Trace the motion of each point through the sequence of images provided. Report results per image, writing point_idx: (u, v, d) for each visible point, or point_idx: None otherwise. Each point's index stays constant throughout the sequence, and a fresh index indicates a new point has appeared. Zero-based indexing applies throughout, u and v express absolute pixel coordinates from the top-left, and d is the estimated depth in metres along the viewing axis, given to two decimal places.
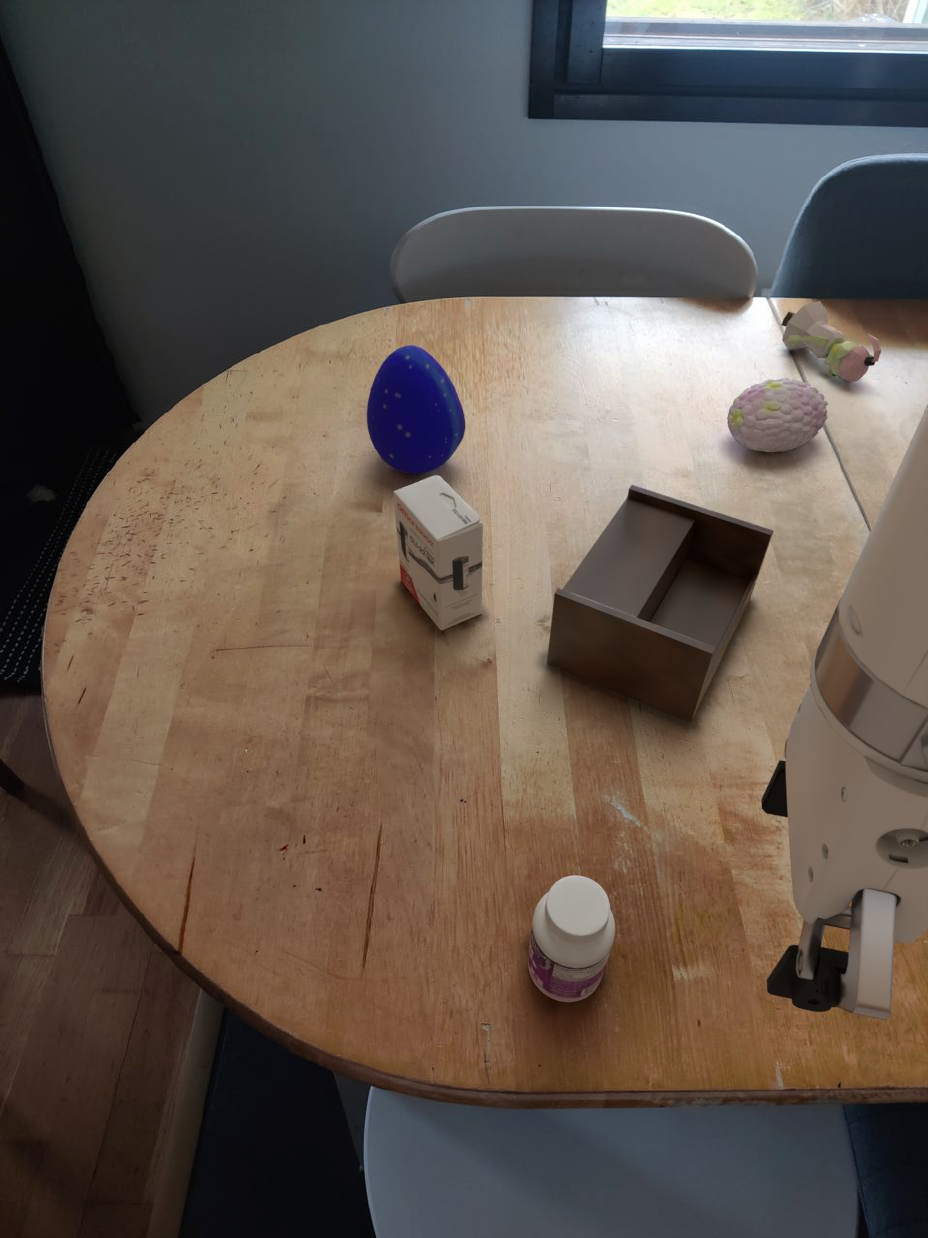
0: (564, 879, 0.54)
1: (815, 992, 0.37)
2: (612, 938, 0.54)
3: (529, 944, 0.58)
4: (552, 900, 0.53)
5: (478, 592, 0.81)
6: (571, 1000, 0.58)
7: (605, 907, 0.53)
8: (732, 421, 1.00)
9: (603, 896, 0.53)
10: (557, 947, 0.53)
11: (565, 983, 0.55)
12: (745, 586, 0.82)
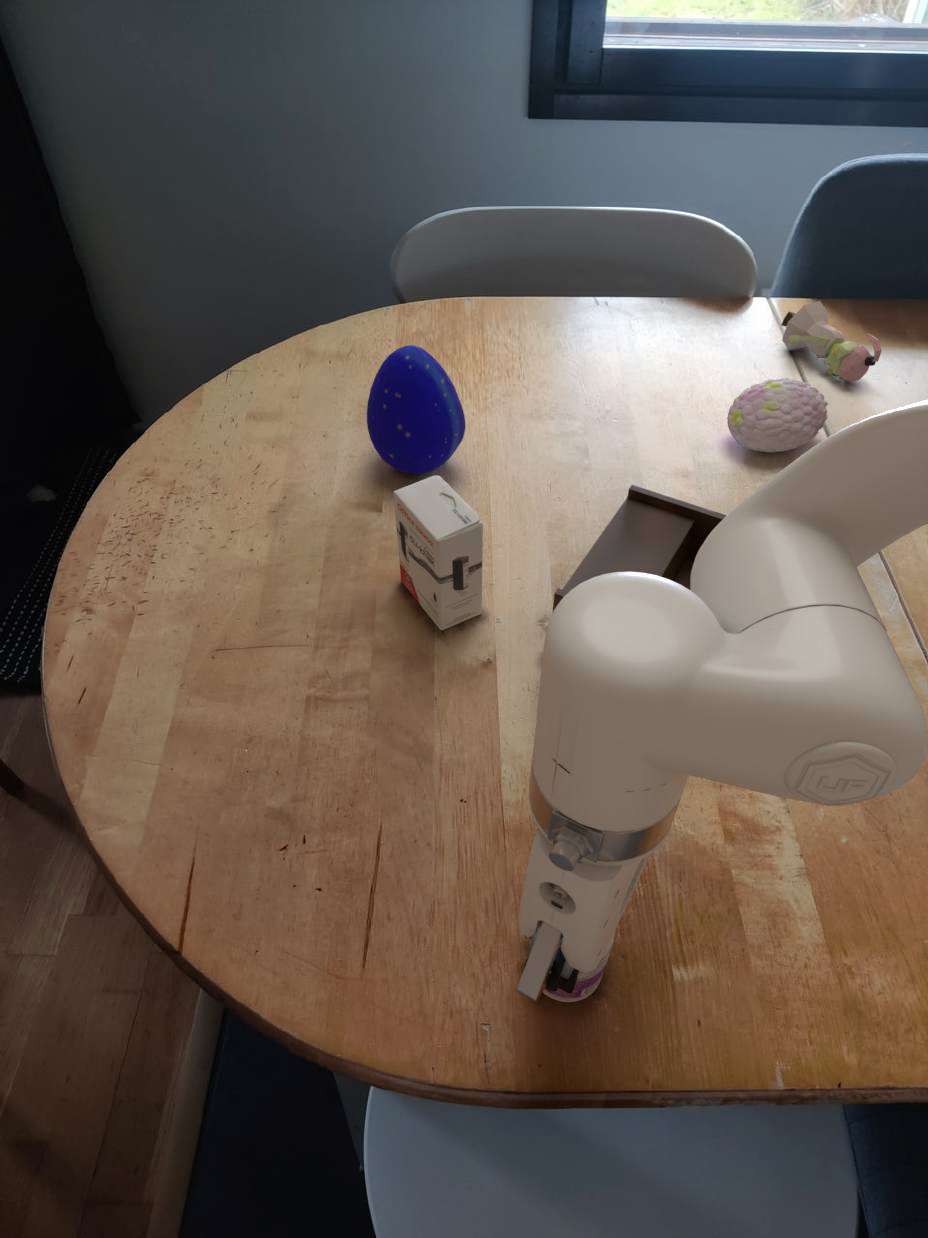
0: None
1: None
2: (612, 938, 0.54)
3: (529, 944, 0.58)
4: None
5: (478, 592, 0.81)
6: (571, 1000, 0.58)
7: None
8: (732, 421, 1.00)
9: None
10: None
11: None
12: None
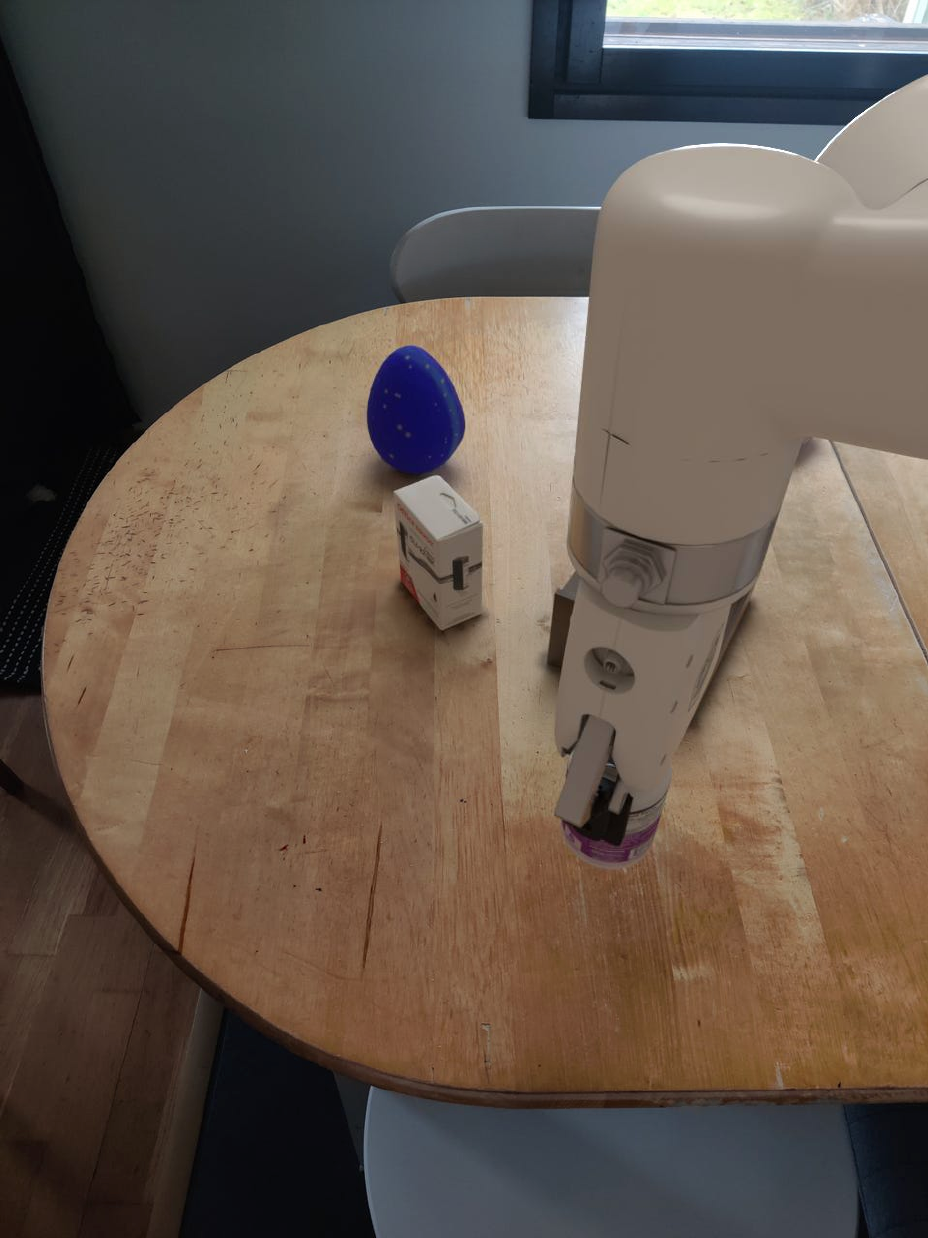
0: None
1: None
2: (669, 776, 0.43)
3: None
4: None
5: (478, 592, 0.81)
6: (616, 866, 0.46)
7: None
8: None
9: None
10: None
11: None
12: None
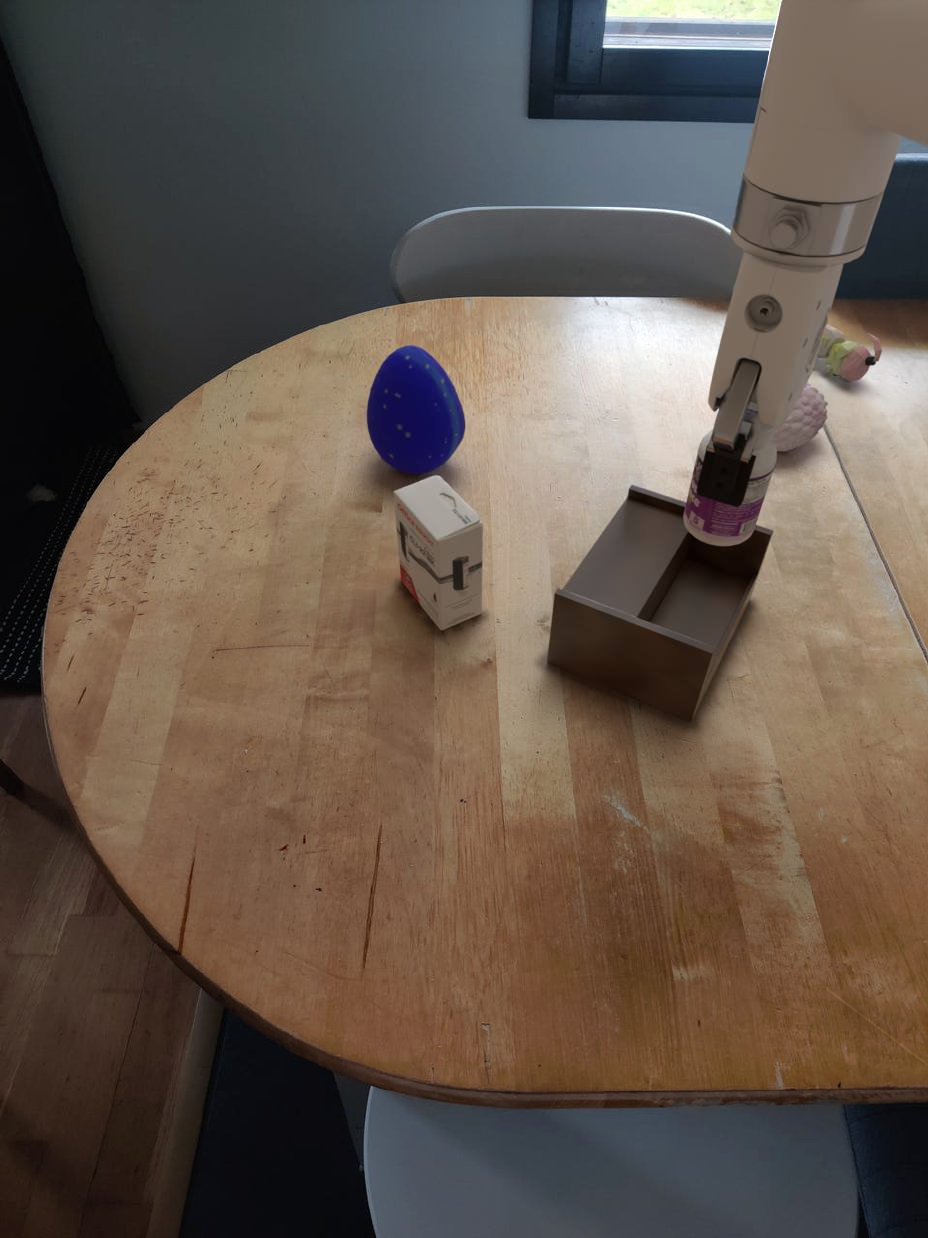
0: None
1: (720, 473, 0.57)
2: (775, 456, 0.59)
3: (689, 492, 0.63)
4: None
5: (478, 592, 0.81)
6: (729, 540, 0.62)
7: None
8: None
9: None
10: None
11: (729, 508, 0.60)
12: (745, 586, 0.82)
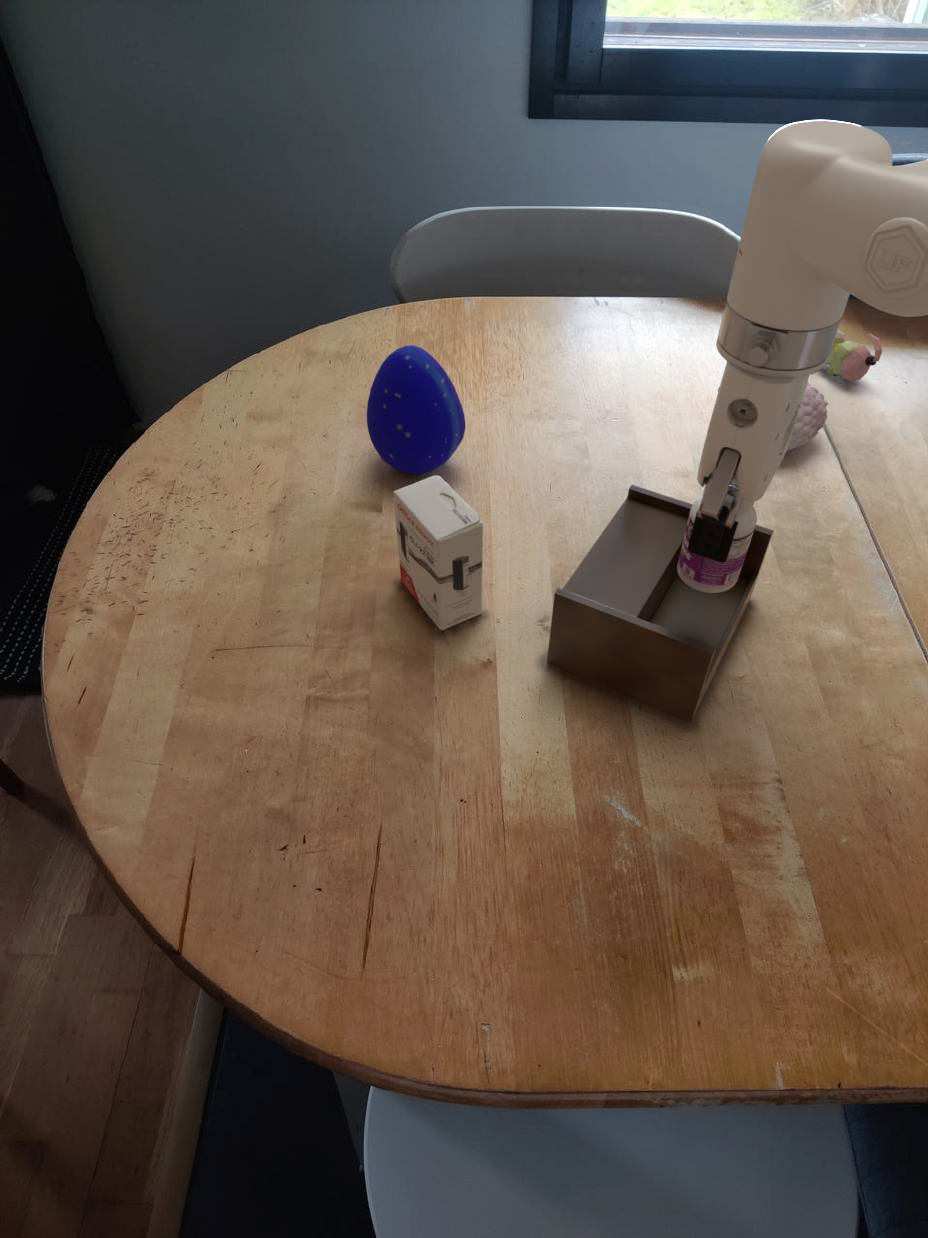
0: None
1: (707, 535, 0.67)
2: (755, 519, 0.69)
3: (682, 546, 0.73)
4: None
5: (478, 592, 0.81)
6: (716, 589, 0.72)
7: None
8: None
9: None
10: None
11: (715, 562, 0.70)
12: (745, 586, 0.82)
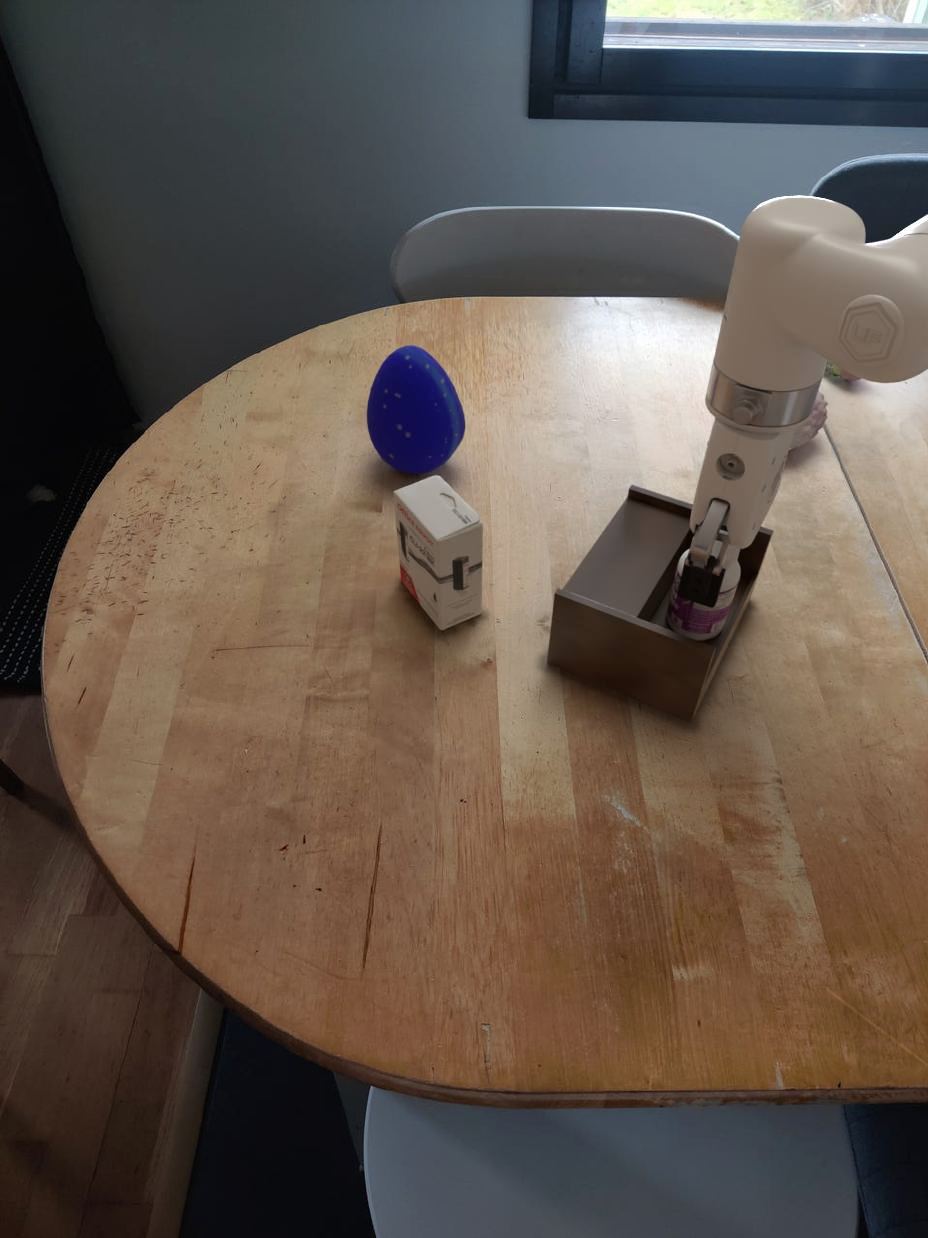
0: None
1: (695, 582, 0.68)
2: (739, 574, 0.73)
3: (670, 596, 0.77)
4: None
5: (478, 592, 0.81)
6: (703, 637, 0.77)
7: None
8: None
9: None
10: None
11: (702, 613, 0.75)
12: (745, 586, 0.82)
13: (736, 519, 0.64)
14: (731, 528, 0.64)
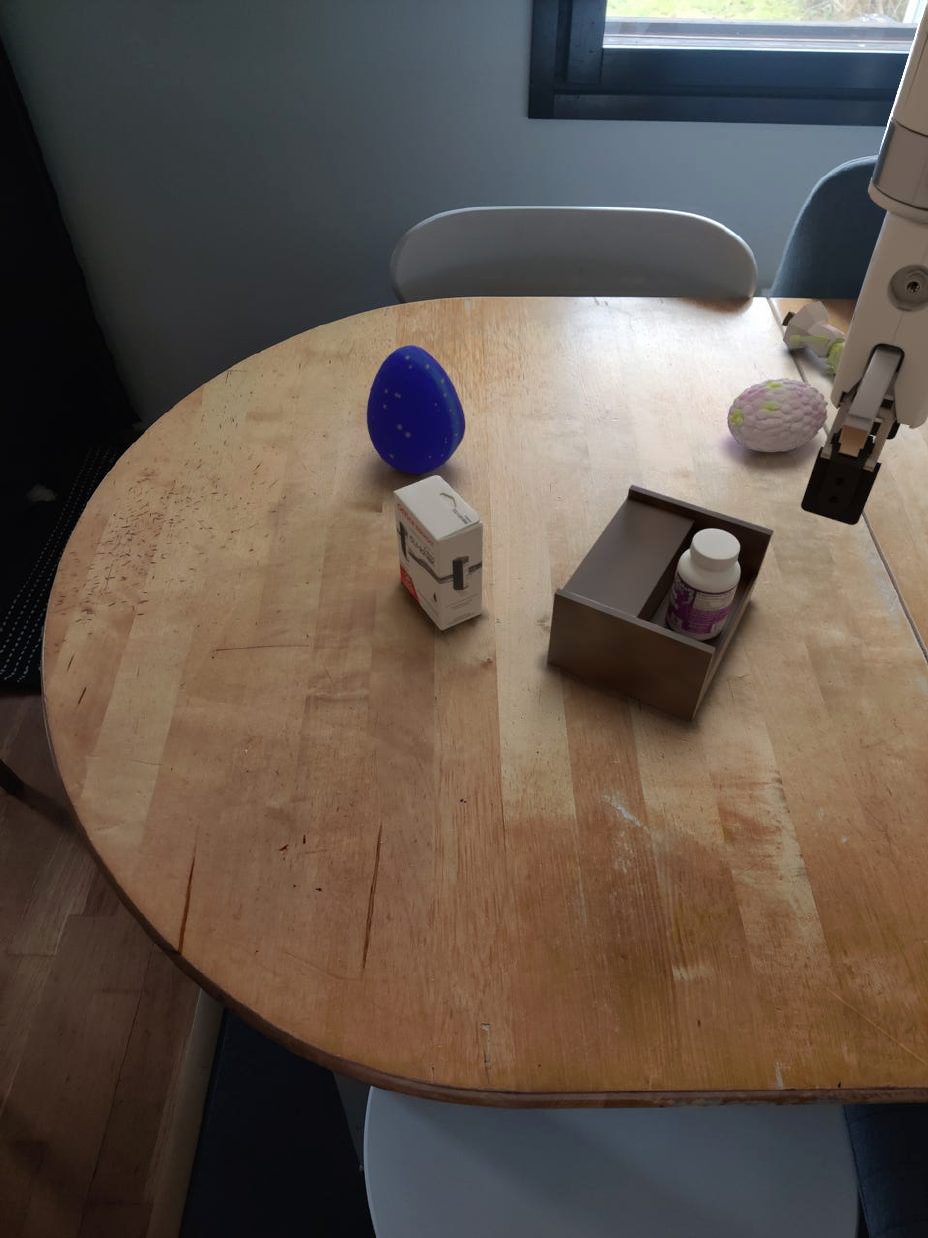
0: (704, 530, 0.73)
1: (834, 483, 0.46)
2: (739, 574, 0.73)
3: (670, 596, 0.77)
4: (697, 541, 0.72)
5: (478, 592, 0.81)
6: (703, 637, 0.77)
7: (736, 544, 0.72)
8: (732, 421, 1.00)
9: (734, 539, 0.72)
10: (700, 576, 0.72)
11: (702, 613, 0.75)
12: (745, 586, 0.82)
13: (912, 378, 0.42)
14: (901, 393, 0.42)
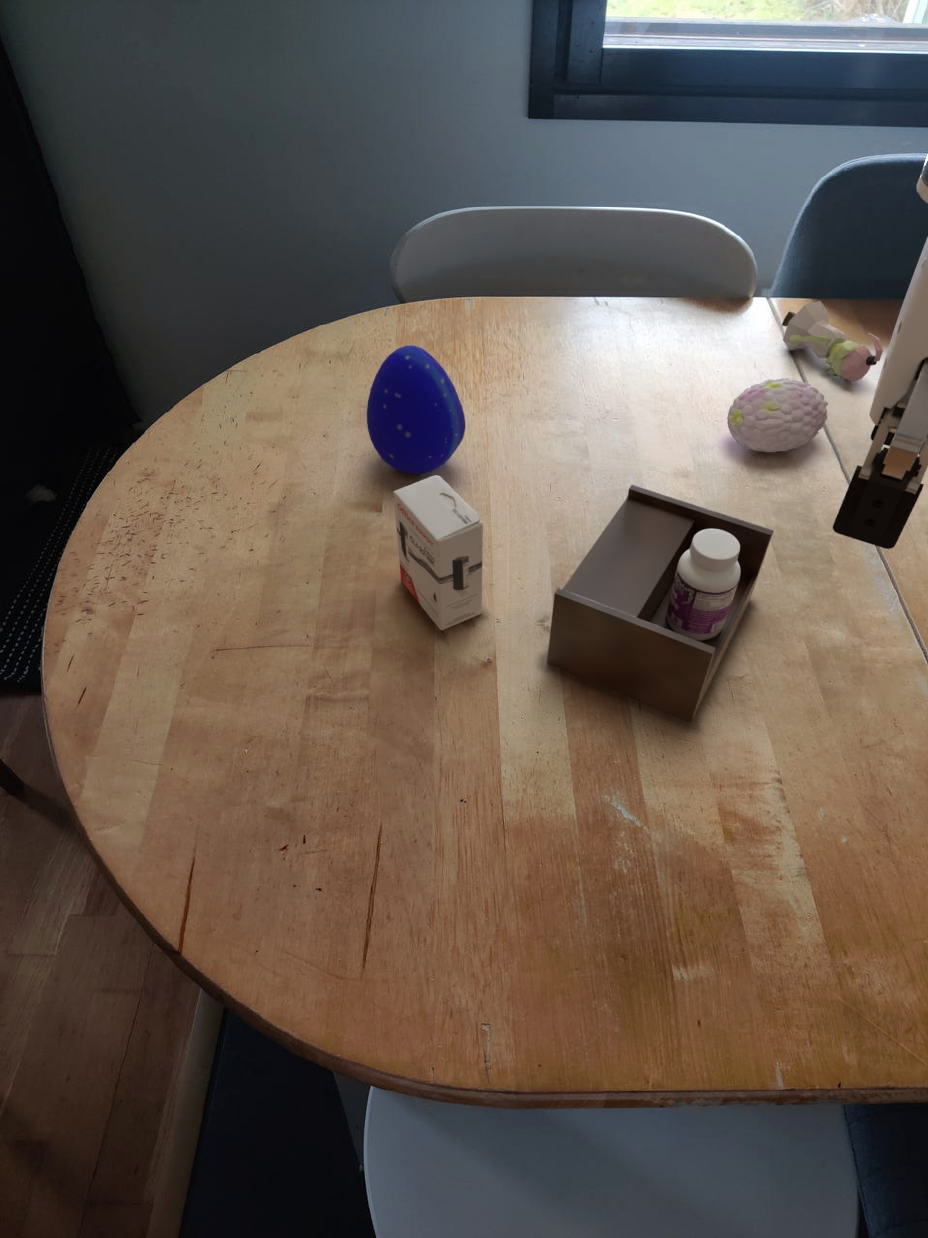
0: (704, 530, 0.73)
1: (872, 505, 0.43)
2: (739, 574, 0.73)
3: (670, 596, 0.77)
4: (697, 541, 0.72)
5: (478, 592, 0.81)
6: (703, 637, 0.77)
7: (736, 544, 0.72)
8: (732, 421, 1.00)
9: (734, 539, 0.72)
10: (700, 576, 0.72)
11: (702, 613, 0.75)
12: (745, 586, 0.82)
13: None
14: None
